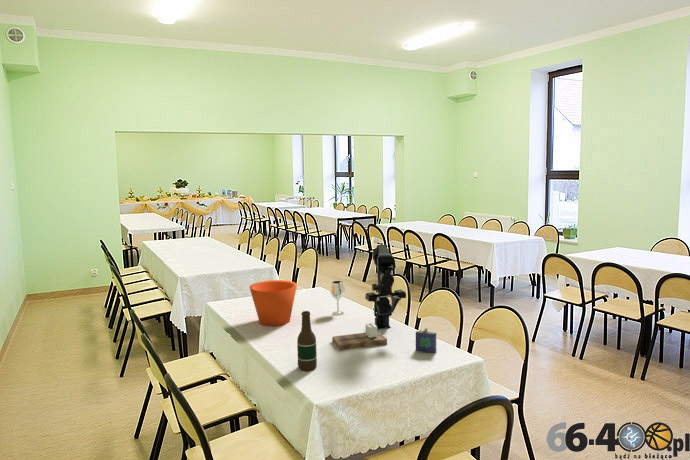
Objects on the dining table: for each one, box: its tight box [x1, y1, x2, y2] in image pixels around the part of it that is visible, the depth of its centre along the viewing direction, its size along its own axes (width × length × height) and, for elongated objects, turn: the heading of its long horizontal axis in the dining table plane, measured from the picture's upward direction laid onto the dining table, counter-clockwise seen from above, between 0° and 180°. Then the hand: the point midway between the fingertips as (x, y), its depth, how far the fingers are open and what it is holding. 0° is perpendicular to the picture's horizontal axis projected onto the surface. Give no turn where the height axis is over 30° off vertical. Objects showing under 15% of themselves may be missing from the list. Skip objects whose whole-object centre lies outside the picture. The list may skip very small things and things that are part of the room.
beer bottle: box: [296, 310, 318, 372], centre depth 210 cm, size 8×8×24 cm
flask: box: [415, 327, 437, 354], centre depth 226 cm, size 9×3×11 cm, turn 74°
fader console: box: [331, 330, 388, 351], centre depth 239 cm, size 23×12×3 cm, turn 107°
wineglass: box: [330, 280, 346, 316], centre depth 284 cm, size 8×8×18 cm
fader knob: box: [365, 322, 378, 338], centre depth 240 cm, size 4×5×5 cm
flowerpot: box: [249, 279, 298, 327], centre depth 272 cm, size 25×25×20 cm
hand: (385, 313), depth 241 cm, fingers open, 6 cm apart
